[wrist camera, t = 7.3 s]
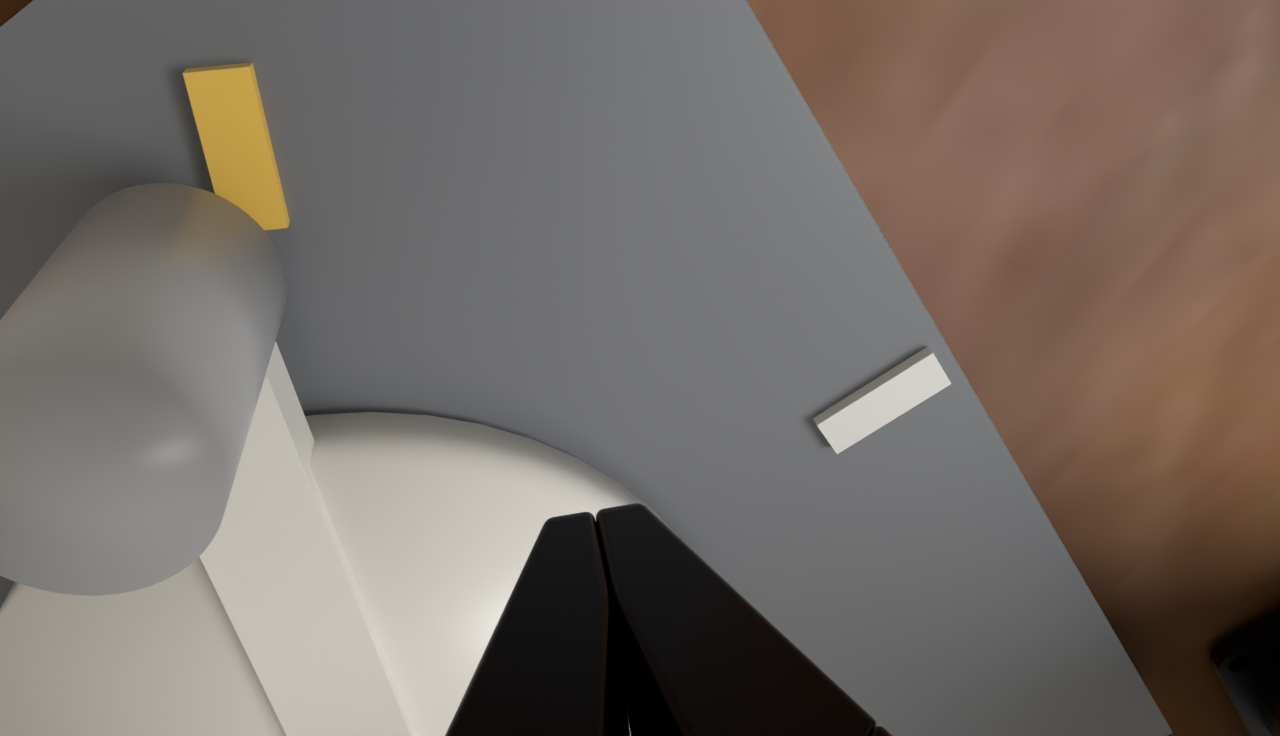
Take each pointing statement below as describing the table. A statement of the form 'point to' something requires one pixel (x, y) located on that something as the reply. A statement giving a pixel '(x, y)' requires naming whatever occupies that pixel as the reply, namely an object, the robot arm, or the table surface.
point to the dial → (235, 505)
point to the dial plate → (599, 301)
